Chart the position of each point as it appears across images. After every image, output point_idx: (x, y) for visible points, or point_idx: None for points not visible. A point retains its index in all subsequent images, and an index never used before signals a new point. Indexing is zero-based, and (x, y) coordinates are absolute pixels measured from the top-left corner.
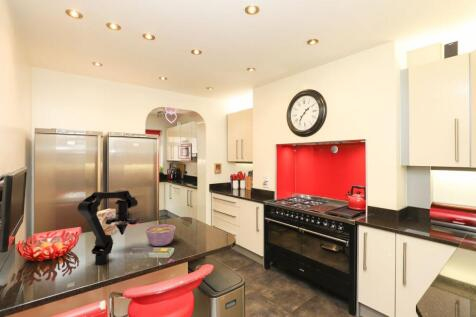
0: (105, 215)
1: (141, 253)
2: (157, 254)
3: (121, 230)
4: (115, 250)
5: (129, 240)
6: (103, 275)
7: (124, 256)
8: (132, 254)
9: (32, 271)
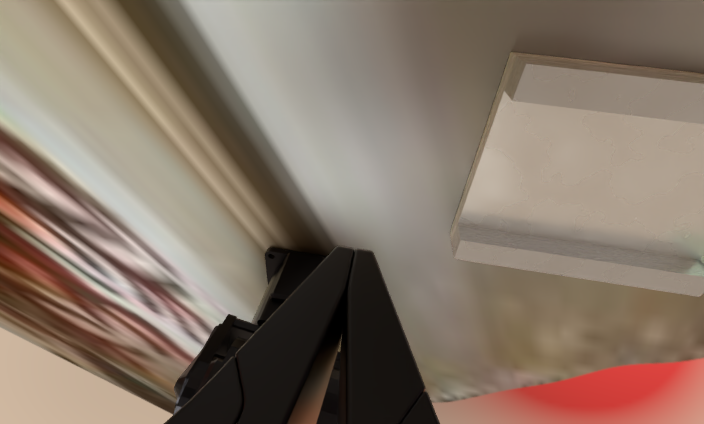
0: None
1: (633, 172)
2: None
3: (315, 406)
4: None
5: None
6: None
7: (453, 250)
8: (535, 256)
9: (14, 291)
